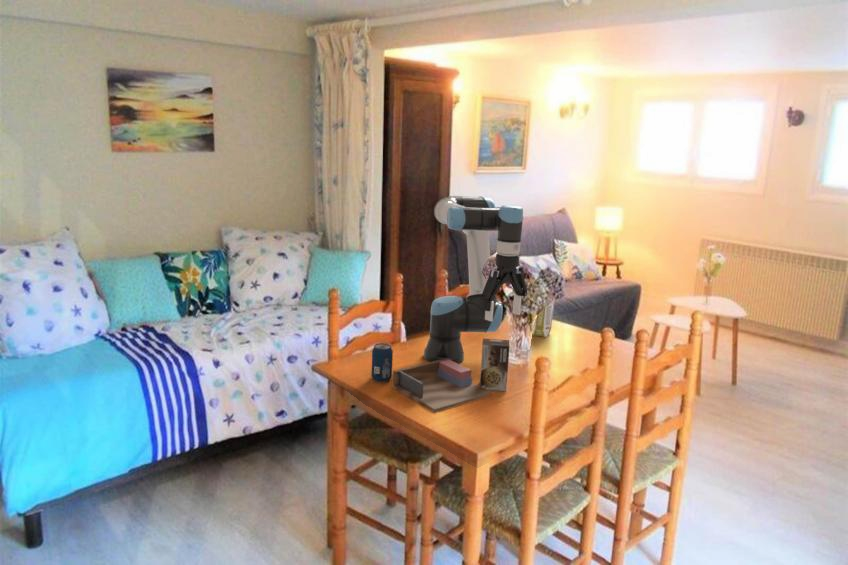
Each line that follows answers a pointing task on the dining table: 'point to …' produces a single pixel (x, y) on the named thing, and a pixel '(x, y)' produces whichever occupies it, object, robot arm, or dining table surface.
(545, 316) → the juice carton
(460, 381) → the books
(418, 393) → the grey upright panel
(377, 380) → the soda can
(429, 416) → the dining table surface
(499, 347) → the coffee box
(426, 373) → the book stand
